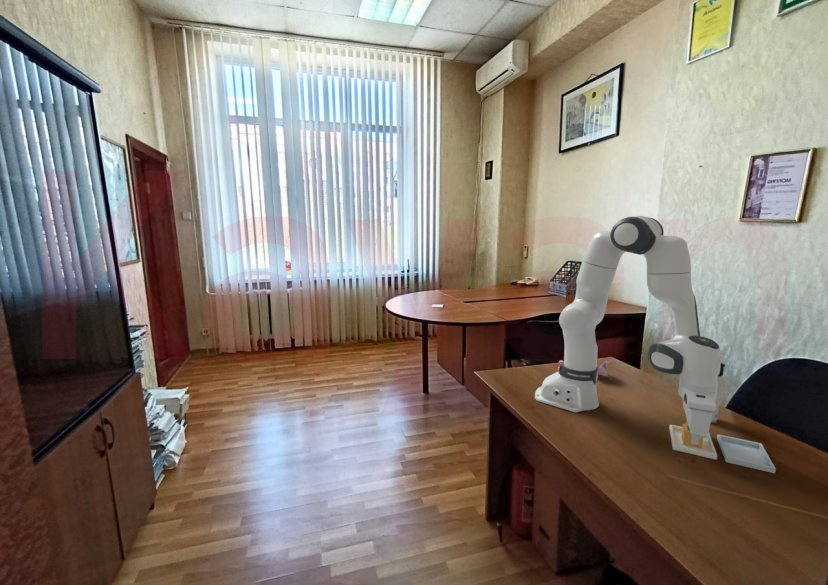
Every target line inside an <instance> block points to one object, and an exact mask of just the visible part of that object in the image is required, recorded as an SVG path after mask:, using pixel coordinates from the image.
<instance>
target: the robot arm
mask: <svg viewBox="0 0 828 585" xmlns="http://www.w3.org/2000/svg"><path fill="white" fill-rule="evenodd" d="M664 233H665V232H664V227H663V226H662V224H661V222H660V221H658V220H657V219H656V218H652V217H649V216H643V215H636V216H628V217H623V218H622V219H619V220H618V221H617V222H616V223H615V224H614V225H613V226H612V228H611V230H610V231H608V230H607V231H599V232H596V233H595V234H594V235H593V236H592V238H591V240H590V242H589V243H588V245H587V247H586V249H585V252H584V255H583V258H582V262H581V263H580V267H579V271H578V274H577V277H576V282H575V284H576V292H575V298H574V300H573V301H572V302H571V303H570V304H568V305H566V306H565V307H564V308H563V310H562V311H561V313H560V315H559V317H558V322H559V325H560V327H561V329H562V335H563V340H564V356H563V360H562V359H561V360H559V361H558V362H557V364H558V365H557V371H556V372H554V373H552V374H550V375H548V376H547V377H545V378H544V380H543V381H542V385H541V386H539V387H538V388H537V389H536V390H535V392H534V399H535V400H536V401H537V402H539V403H543V404H547V405H550V406H554V407H556V408H560V409H563V410H567V411H570V412H573V413H580V412H583V411H591V410H592V411H593V410H595V409H597V408H598V407H599V406H600V403H599V398H598V393H597V383H598V375H599V373H598V369H599V368H598V365H597V364H598V362H597V361H598V350H599V349H598V345H597V341H596V331H595V330H596V326H597V325H598V324H600V323H601V322H602V321H603V319H604V318H605V313H606V309H607V303H608V301H609V294H610V289H611V287H612V285H613V281H614V278H615V275H616V273H617V272H616V271H617V269H618V266H619V263H620V260H621V258H622V256H623V255H624V254H625V253H631V254H633V255H640V256H641V255H643V256H644V258H645V261H646V284H647V289H648V292H649V293H650V295H651V296H652V297H653V298H655V299H656V300H658V301H660V302H662V303H664V304H666V305H667V306H669V307H670V309H671V312H672V314H673V323H674V330H675V332H674V337H673V338H672V339H666V340H663V341H659V342H655V343H653V344H651V345H650V346H649V347H648V349H647V354H646V357H647V361H648V362H649V364H650V366H651V367H652V368H653V369H654V370H656V371H657V372H660V373H662V374H667V375H669V374H670V375H677V376H679V384H678V392H677V393H678V396H679V397H681V399H682V406H683V409H684V413H685V414H684V415H685V418H686V423H685V424H688V425H689V429H690V433H691V439H690V441H691V443H692V444H695V445H698V444H699V439H700V437H706V436H707V435H708V432H709V431H710V428H711V424H712V423H711V420H712V411H713V412H715V411H716V397H717V390H718V382H717V377H718V375H719V373H720V366H721V363H722V359H721V358H722V353H721V352H722V351H721V347H720V345H719V344H718V343H717V342H716V341H715V340H713V339H711V338H708V337H705V336H702V335H701V332H700V323H699V313H698V307H697V306H698V305H697V300H696V296H695V292H694V291H693V286H692V273H691V272H692V270H691V269H692V266H691V265H692V264H691V257H690V252H689V247H688V242H686V240H685V239H684V238H682V237H680V236H675V235H664ZM709 433H710V432H709Z"/></svg>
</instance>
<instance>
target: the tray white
mask: <svg viewBox="0 0 828 585" xmlns="http://www.w3.org/2000/svg"><path fill="white" fill-rule="evenodd" d="M668 430H669V434H670V440H671V446H672V450H673V451H678V452H682V453H687V454H691V455H694V456H695V455H696V456H699V457H703V458H707V459H712V460H715V461H717V460H718V453H717V451H716V448H715V446H714V442H713V440H712V437H711V434H710V432H708V435H707V436H706V437H703V444H702V449H701V448H696V447H692V446H688V445H683V442H682V438H681V435H682V426H679V425H674V424H669V429H668Z"/></svg>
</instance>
